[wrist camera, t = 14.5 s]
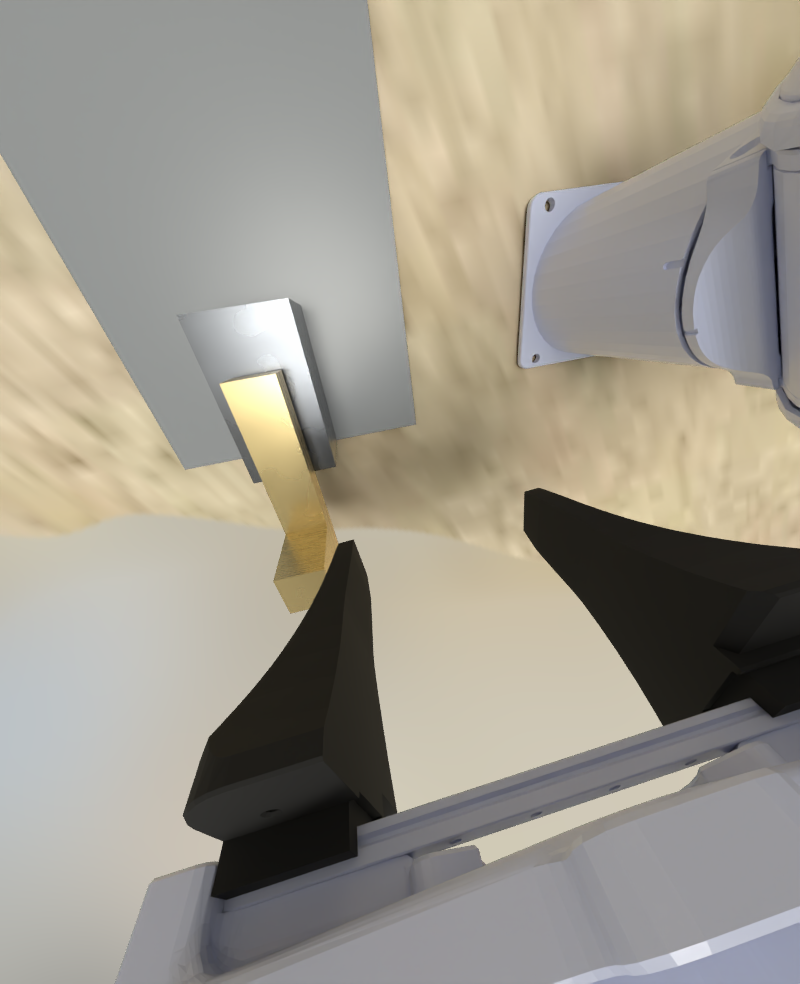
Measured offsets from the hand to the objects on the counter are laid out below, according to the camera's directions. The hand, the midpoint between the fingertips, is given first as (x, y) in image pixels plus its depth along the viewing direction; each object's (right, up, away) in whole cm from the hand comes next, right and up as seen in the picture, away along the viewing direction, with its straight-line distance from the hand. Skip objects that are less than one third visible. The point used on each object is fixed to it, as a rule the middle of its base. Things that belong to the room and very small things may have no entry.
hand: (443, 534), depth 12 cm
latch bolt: (-7, +2, +2) cm, 7 cm away
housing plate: (-9, +12, +3) cm, 15 cm away
